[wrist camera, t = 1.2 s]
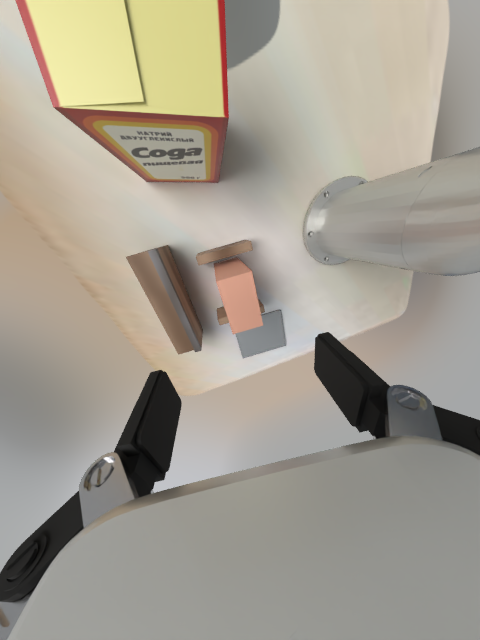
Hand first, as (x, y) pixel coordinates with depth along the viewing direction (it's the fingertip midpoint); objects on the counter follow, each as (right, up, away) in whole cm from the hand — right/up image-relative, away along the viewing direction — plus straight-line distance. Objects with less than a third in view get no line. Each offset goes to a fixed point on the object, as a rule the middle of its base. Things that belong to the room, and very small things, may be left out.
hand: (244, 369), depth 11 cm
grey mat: (+4, 0, +26) cm, 27 cm away
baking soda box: (-8, +25, +12) cm, 29 cm away
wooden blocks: (-6, +9, +20) cm, 23 cm away
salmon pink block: (-2, +10, +20) cm, 23 cm away
